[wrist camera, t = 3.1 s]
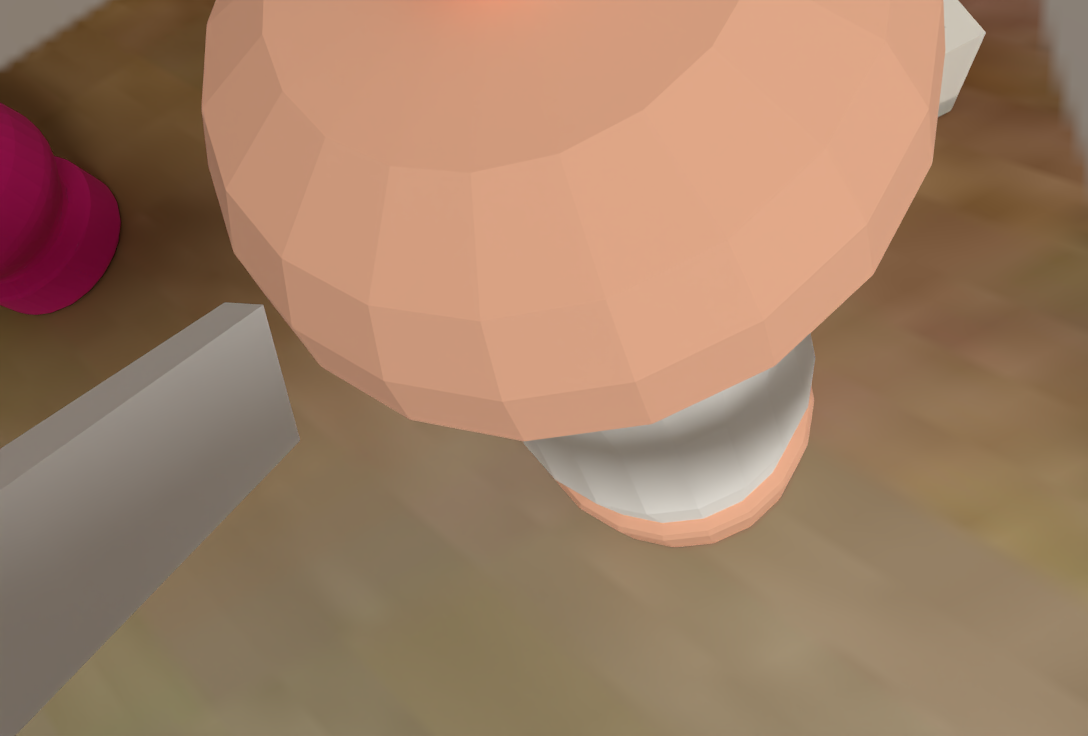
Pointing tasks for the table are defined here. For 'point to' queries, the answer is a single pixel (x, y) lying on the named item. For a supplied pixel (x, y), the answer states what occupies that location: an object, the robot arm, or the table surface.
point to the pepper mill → (49, 222)
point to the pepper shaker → (578, 217)
